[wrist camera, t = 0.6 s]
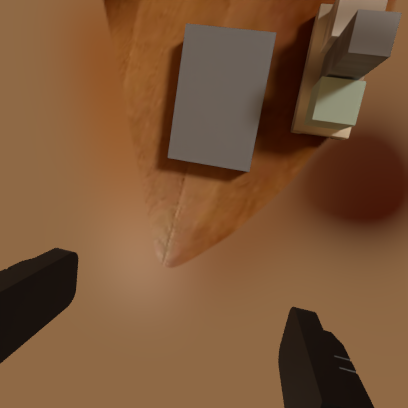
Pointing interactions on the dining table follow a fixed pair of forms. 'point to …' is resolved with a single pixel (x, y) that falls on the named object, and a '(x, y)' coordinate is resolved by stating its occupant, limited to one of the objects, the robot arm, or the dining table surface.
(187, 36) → the dock
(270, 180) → the dining table surface
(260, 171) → the dining table surface
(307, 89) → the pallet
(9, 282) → the robot arm
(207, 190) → the dining table surface
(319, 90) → the green block
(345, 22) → the cream block
